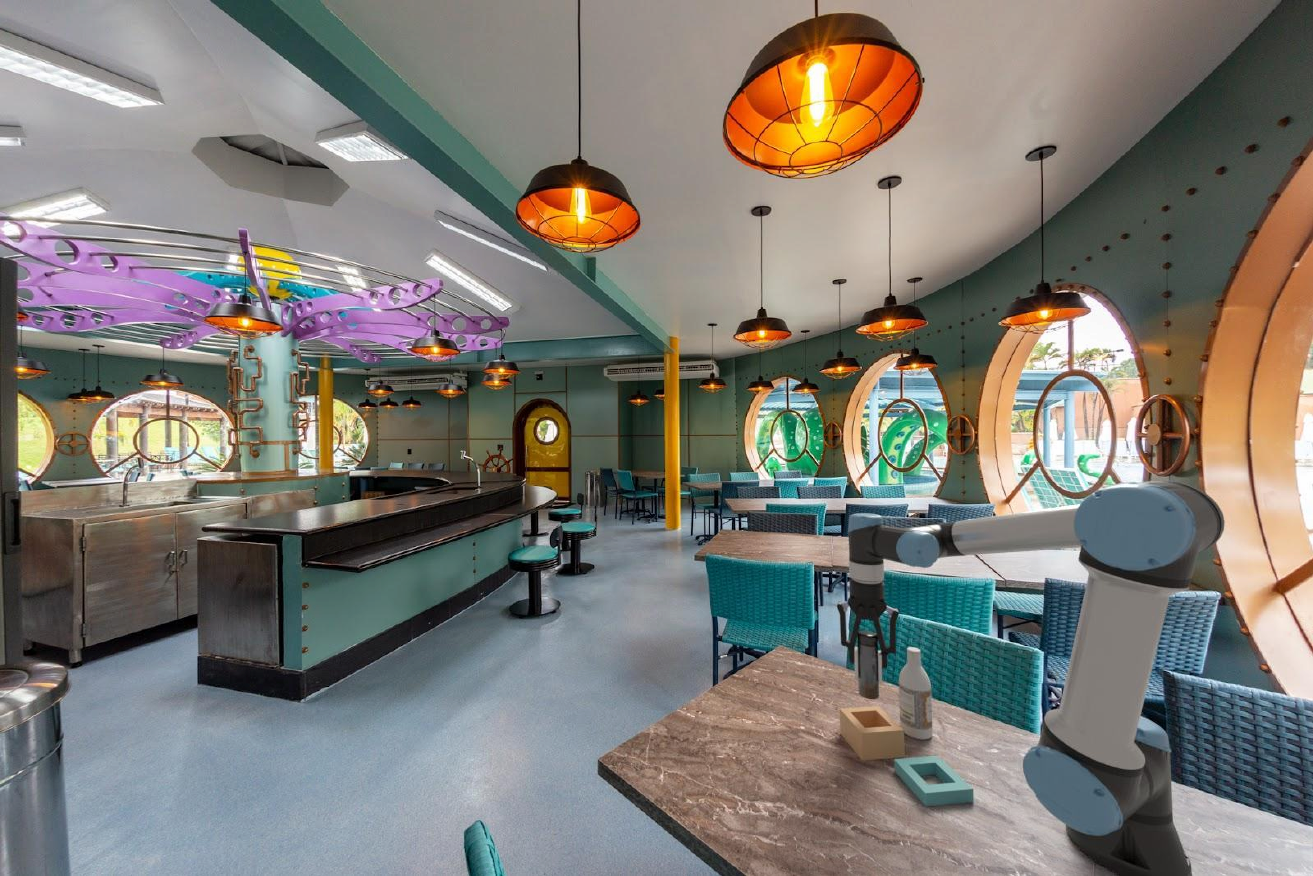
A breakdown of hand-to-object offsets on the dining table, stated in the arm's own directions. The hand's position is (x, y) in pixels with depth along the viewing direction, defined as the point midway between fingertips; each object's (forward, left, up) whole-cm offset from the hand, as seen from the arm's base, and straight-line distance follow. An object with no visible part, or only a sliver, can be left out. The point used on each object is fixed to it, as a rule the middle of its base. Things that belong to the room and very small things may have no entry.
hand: (868, 678), depth 109 cm
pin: (0, 0, -4) cm, 4 cm away
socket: (0, 0, -15) cm, 15 cm away
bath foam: (+3, -14, -15) cm, 21 cm away
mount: (-14, -5, -15) cm, 21 cm away
